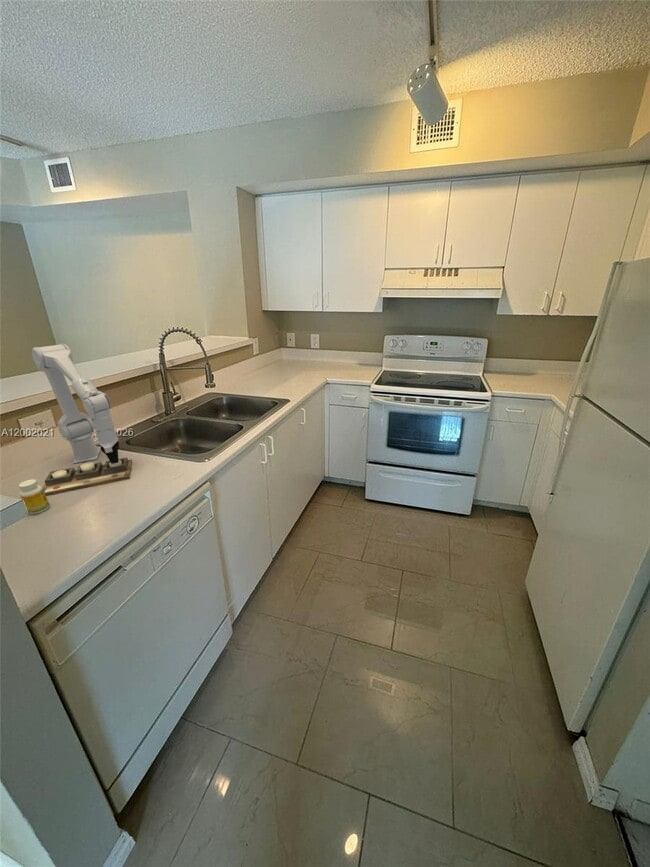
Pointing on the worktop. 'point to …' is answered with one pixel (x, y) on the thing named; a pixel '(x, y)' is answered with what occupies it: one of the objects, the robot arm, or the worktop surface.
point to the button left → (59, 473)
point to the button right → (116, 464)
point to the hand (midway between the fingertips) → (115, 462)
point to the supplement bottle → (33, 496)
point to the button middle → (87, 467)
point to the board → (87, 477)
